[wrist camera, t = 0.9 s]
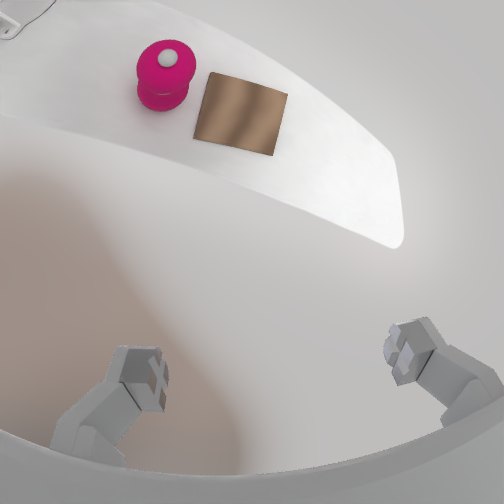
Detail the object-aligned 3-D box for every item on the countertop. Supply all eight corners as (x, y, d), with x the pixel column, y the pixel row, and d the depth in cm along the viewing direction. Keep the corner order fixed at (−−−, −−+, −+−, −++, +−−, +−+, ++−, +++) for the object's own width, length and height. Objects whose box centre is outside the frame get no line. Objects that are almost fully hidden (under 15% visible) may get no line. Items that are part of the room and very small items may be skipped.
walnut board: (193, 138, 41) (194, 138, 40) (210, 73, 38) (211, 71, 37) (269, 155, 46) (272, 155, 45) (284, 94, 43) (288, 94, 42)
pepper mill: (182, 66, 36) (204, 17, 19) (188, 108, 39) (214, 85, 22) (136, 75, 35) (123, 30, 17) (142, 118, 38) (132, 101, 20)
